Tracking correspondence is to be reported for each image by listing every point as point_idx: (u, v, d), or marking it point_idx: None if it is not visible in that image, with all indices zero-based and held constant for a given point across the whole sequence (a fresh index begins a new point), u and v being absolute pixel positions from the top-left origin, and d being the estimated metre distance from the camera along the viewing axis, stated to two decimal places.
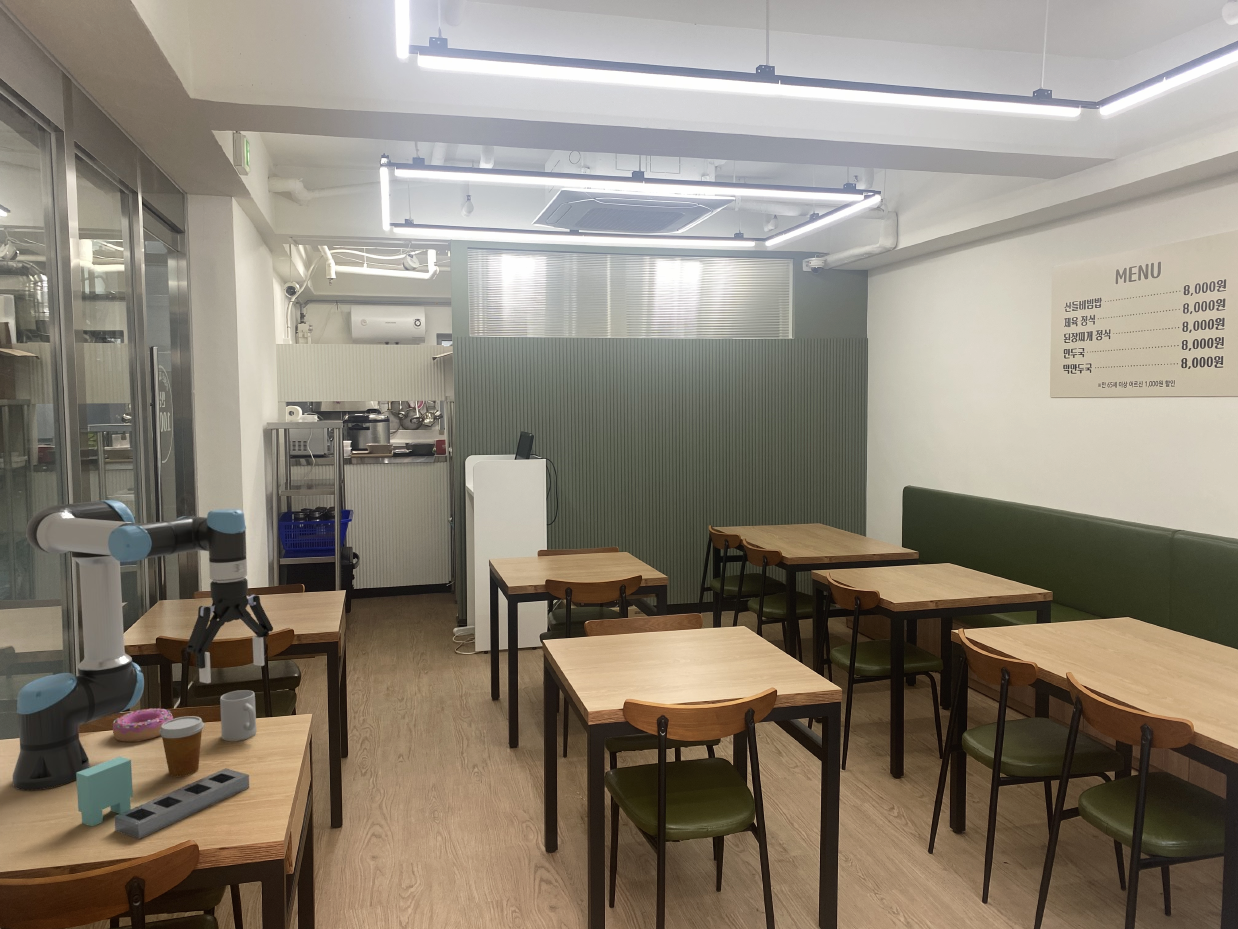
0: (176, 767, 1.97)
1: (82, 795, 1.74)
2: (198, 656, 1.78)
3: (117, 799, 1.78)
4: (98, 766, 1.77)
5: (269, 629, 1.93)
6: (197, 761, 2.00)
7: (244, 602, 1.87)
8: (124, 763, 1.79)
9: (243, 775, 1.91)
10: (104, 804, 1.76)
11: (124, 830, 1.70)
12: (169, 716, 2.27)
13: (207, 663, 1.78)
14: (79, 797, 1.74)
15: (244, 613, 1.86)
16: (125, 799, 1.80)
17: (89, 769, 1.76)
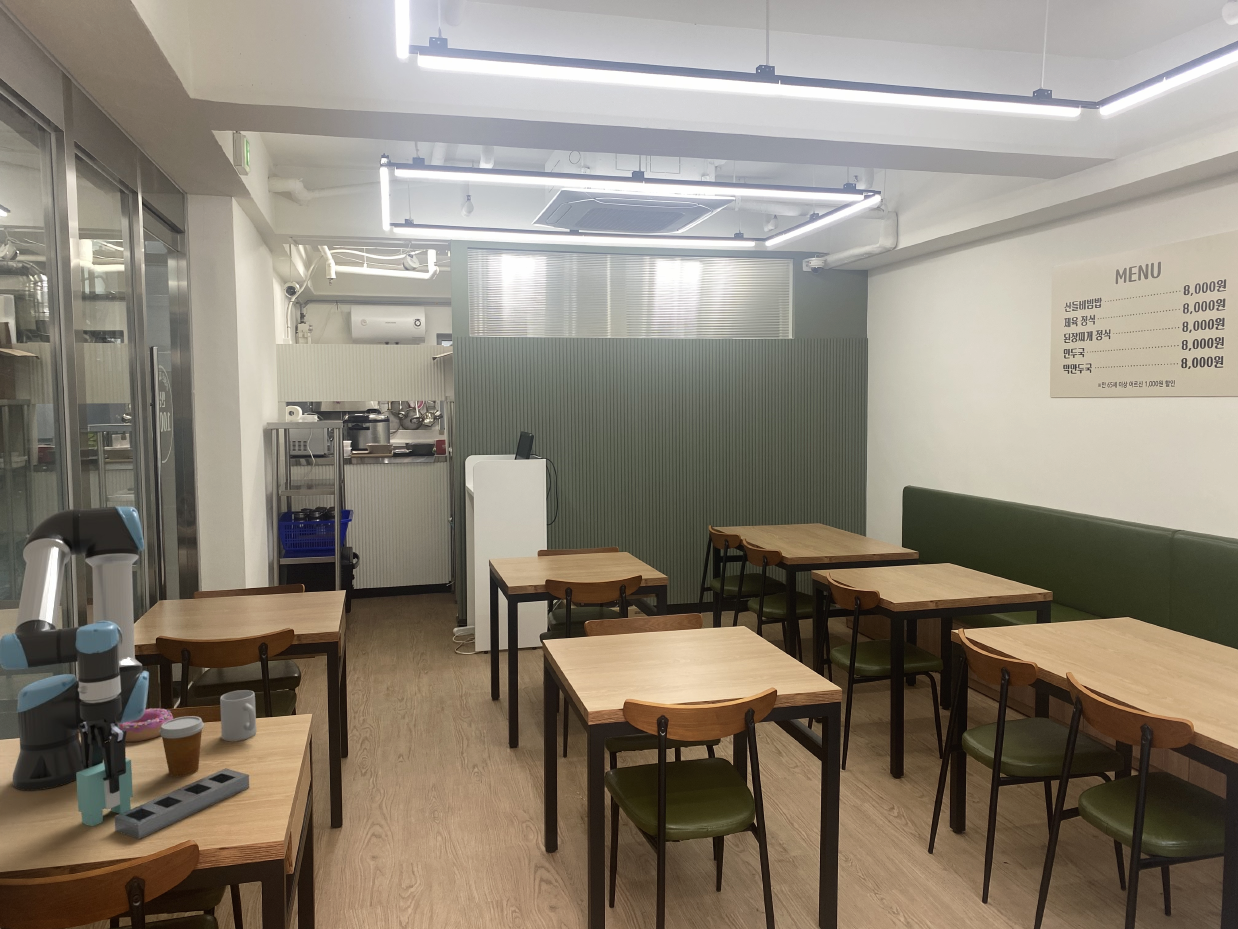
0: (176, 767, 1.97)
1: (82, 795, 1.74)
2: None
3: None
4: (98, 766, 1.77)
5: (111, 773, 1.74)
6: (197, 761, 2.00)
7: (104, 727, 1.75)
8: None
9: (243, 775, 1.91)
10: (104, 804, 1.76)
11: (124, 830, 1.70)
12: (169, 716, 2.27)
13: None
14: (79, 797, 1.74)
15: (98, 739, 1.75)
16: (125, 799, 1.80)
17: (89, 769, 1.76)
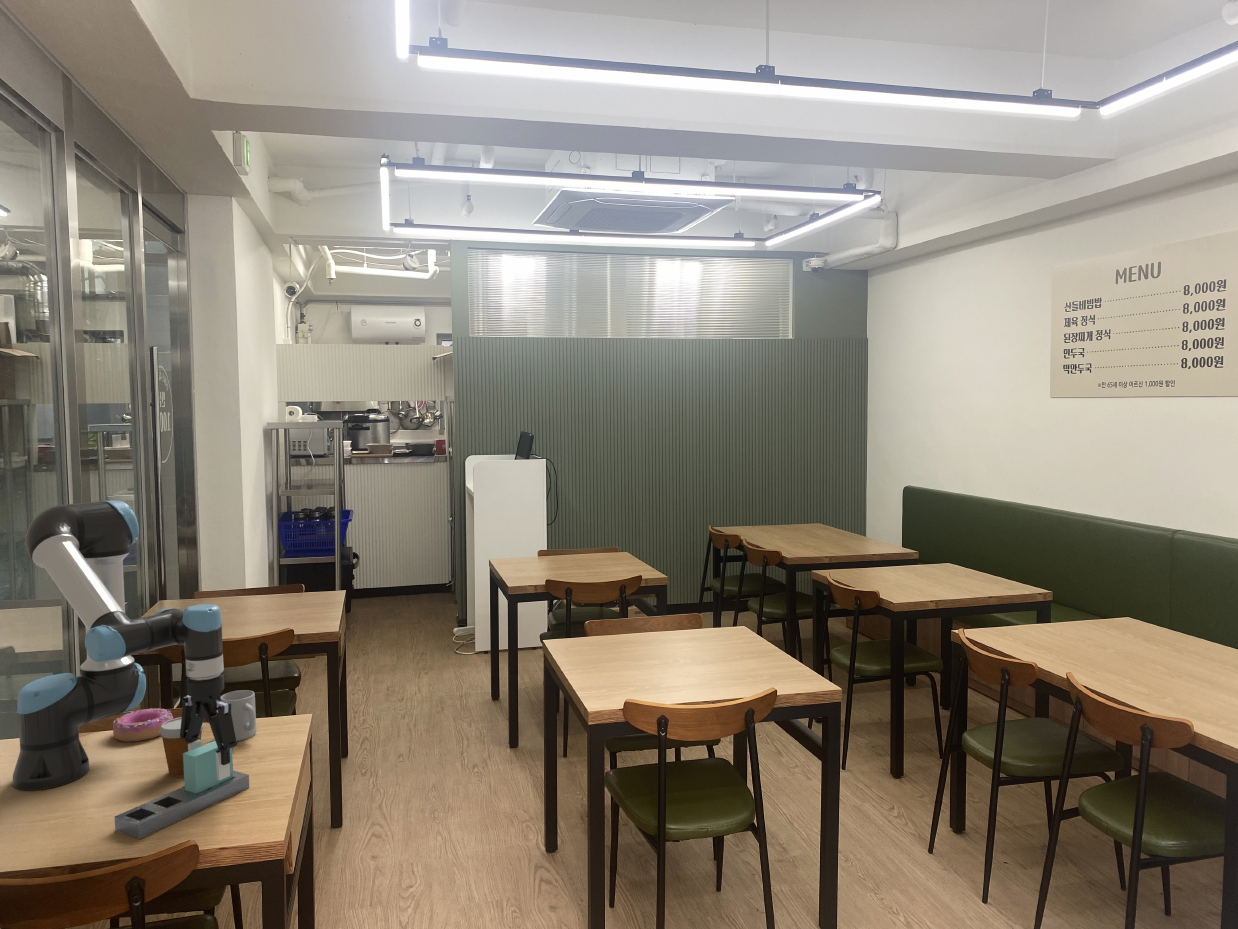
0: (176, 767, 1.97)
1: (189, 775, 1.82)
2: None
3: None
4: (202, 748, 1.86)
5: (224, 746, 1.82)
6: None
7: (210, 703, 1.83)
8: None
9: (243, 775, 1.91)
10: (209, 783, 1.84)
11: (124, 830, 1.70)
12: (169, 716, 2.27)
13: None
14: (186, 777, 1.83)
15: (205, 715, 1.83)
16: (226, 779, 1.88)
17: (194, 750, 1.84)
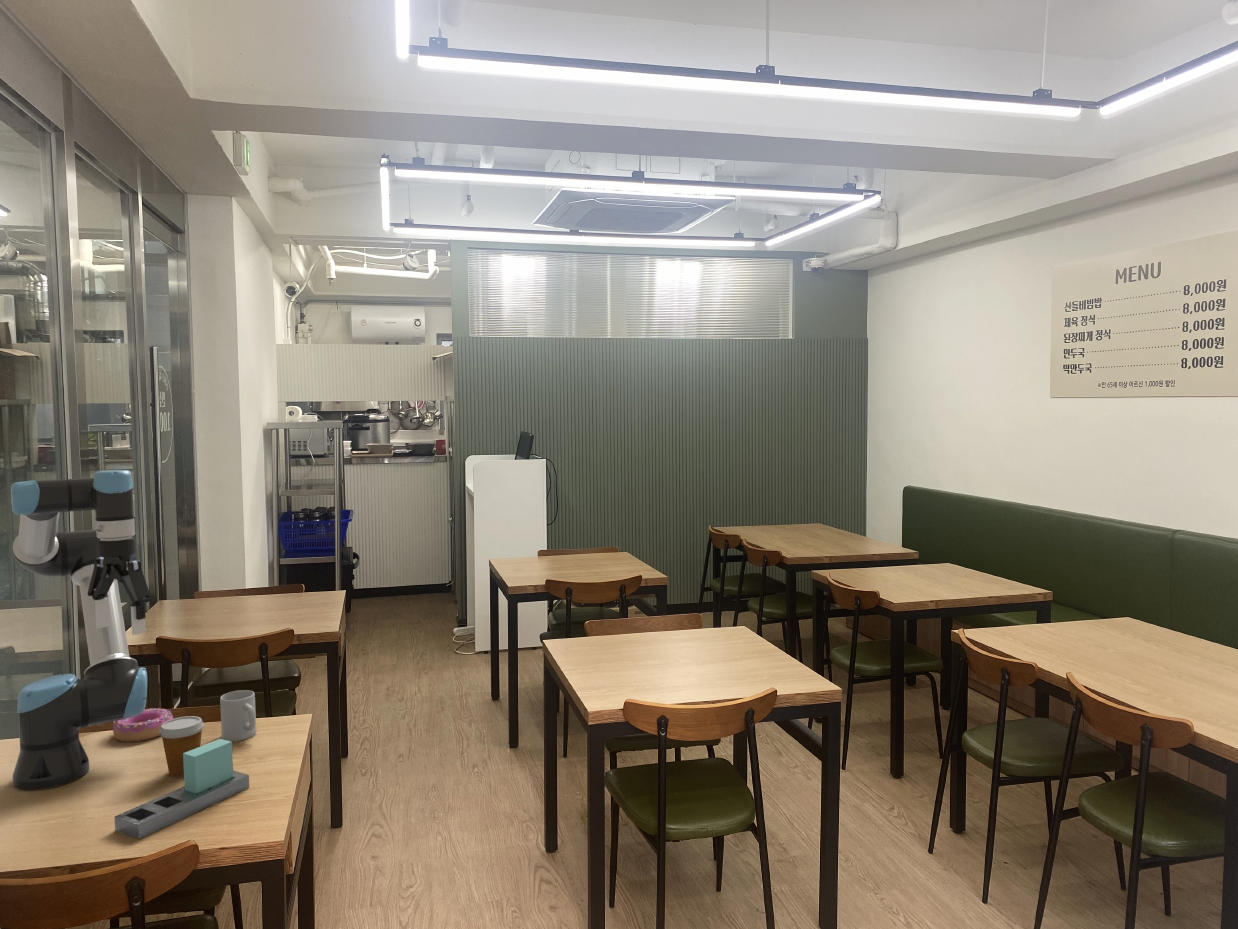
0: (176, 767, 1.97)
1: (189, 775, 1.82)
2: None
3: (220, 779, 1.87)
4: (202, 748, 1.86)
5: (138, 600, 1.85)
6: None
7: (120, 564, 1.87)
8: (226, 745, 1.88)
9: (243, 775, 1.91)
10: (209, 783, 1.84)
11: (124, 830, 1.70)
12: (169, 716, 2.27)
13: (95, 609, 1.92)
14: (186, 777, 1.83)
15: (116, 575, 1.87)
16: (226, 779, 1.88)
17: (194, 750, 1.84)
